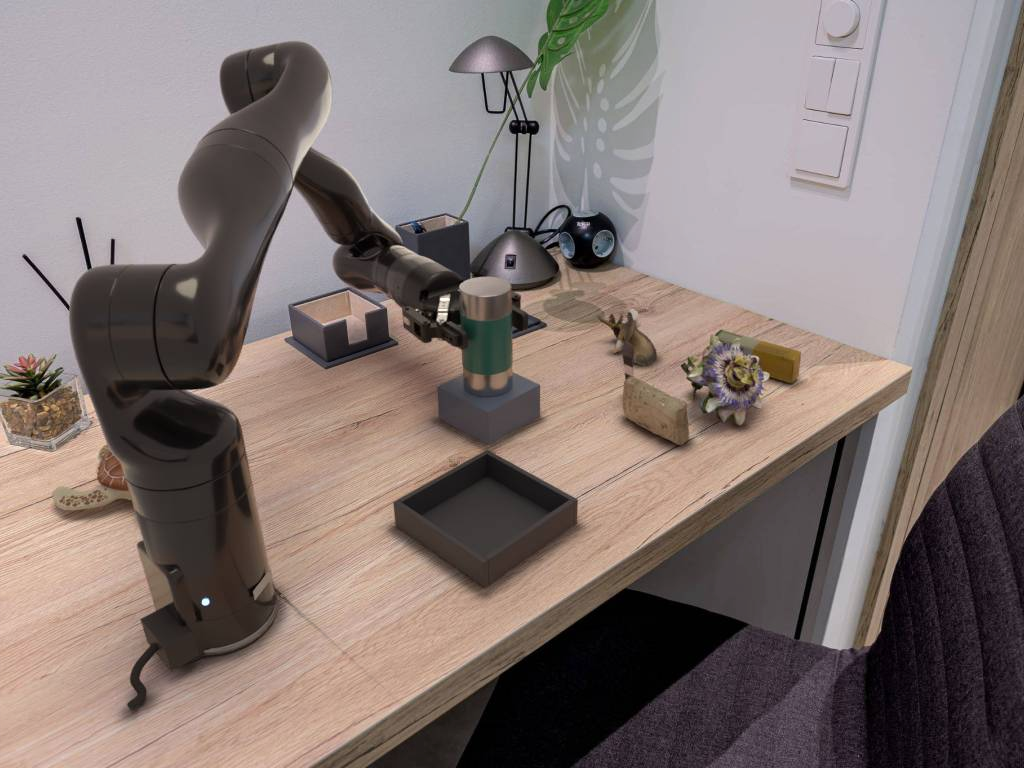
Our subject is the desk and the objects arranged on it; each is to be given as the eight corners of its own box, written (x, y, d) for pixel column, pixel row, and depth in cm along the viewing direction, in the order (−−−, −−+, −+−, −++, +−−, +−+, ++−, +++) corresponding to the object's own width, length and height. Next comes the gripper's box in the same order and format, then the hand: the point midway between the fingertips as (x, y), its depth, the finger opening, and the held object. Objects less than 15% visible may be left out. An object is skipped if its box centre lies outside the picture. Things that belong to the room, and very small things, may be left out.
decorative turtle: (57, 553, 82) (43, 513, 79) (54, 468, 95) (42, 431, 92) (243, 501, 89) (235, 463, 87) (217, 429, 102) (209, 394, 100)
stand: (488, 448, 98) (487, 412, 95) (438, 420, 103) (436, 386, 101) (540, 419, 103) (540, 384, 101) (490, 394, 109) (489, 361, 106)
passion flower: (731, 458, 105) (719, 418, 95) (667, 412, 111) (649, 370, 101) (788, 394, 106) (781, 348, 96) (721, 352, 112) (709, 305, 102)
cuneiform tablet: (628, 398, 107) (702, 434, 99) (604, 416, 105) (678, 454, 97) (623, 353, 103) (700, 387, 95) (598, 371, 101) (675, 407, 93)
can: (487, 402, 97) (484, 300, 91) (452, 385, 101) (447, 286, 94) (523, 384, 101) (522, 285, 94) (488, 368, 105) (485, 272, 98)
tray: (484, 592, 76) (483, 563, 75) (395, 529, 85) (392, 501, 83) (577, 526, 85) (578, 499, 83) (488, 475, 93) (487, 449, 91)
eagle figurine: (584, 339, 120) (615, 354, 112) (605, 295, 120) (638, 306, 112) (623, 358, 124) (656, 373, 116) (643, 314, 123) (678, 327, 115)
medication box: (710, 361, 117) (711, 336, 114) (719, 352, 118) (720, 328, 116) (791, 384, 110) (794, 359, 108) (800, 375, 111) (803, 350, 109)
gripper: (373, 274, 102) (442, 317, 90) (470, 250, 109) (545, 287, 97) (379, 329, 105) (445, 378, 94) (472, 302, 112) (544, 345, 101)
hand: (496, 332), depth 95 cm, fingers open, 8 cm apart
